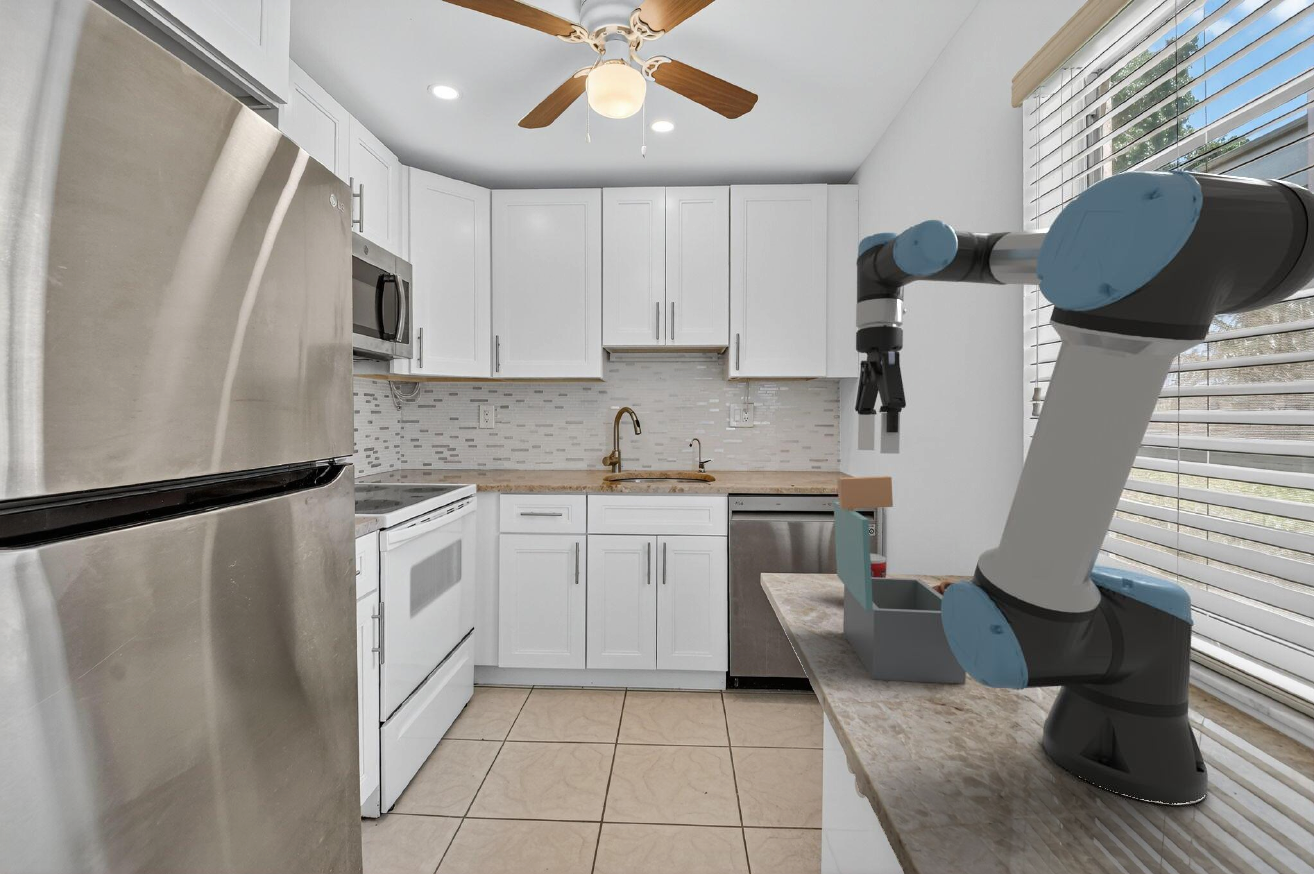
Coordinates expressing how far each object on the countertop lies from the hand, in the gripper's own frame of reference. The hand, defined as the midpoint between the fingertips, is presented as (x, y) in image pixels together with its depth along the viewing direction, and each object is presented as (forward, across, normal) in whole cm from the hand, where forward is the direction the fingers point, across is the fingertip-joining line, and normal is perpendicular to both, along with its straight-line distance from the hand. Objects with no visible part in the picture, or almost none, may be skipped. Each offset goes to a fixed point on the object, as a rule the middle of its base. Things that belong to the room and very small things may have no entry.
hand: (877, 451), depth 98 cm
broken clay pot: (+36, +23, -20) cm, 47 cm away
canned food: (+36, +29, -6) cm, 46 cm away
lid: (+14, 0, -3) cm, 14 cm away
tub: (+36, +1, -4) cm, 36 cm away
